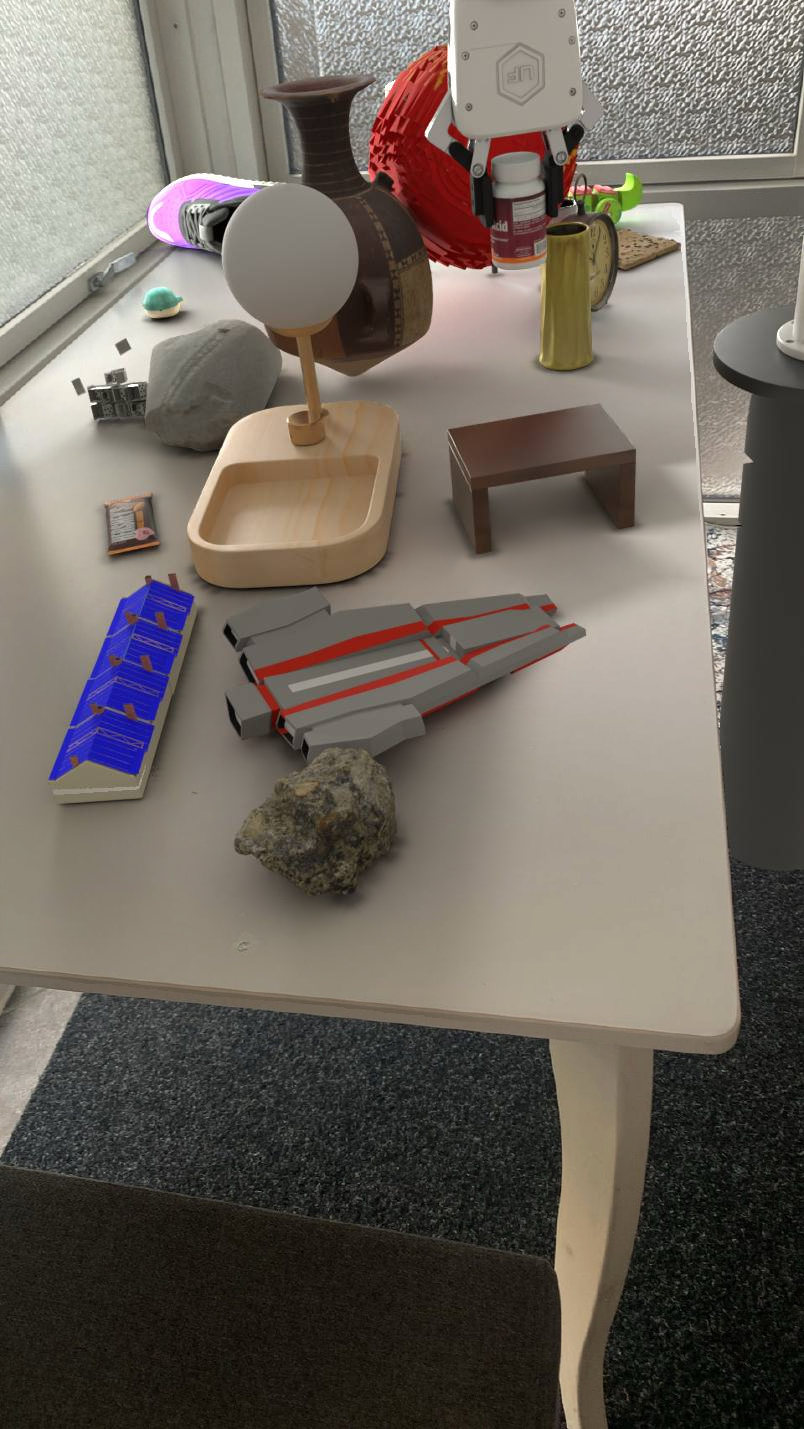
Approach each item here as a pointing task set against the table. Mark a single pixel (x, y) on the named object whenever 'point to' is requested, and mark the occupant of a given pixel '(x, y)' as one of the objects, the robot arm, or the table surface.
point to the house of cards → (116, 393)
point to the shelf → (540, 462)
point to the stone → (209, 383)
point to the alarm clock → (598, 250)
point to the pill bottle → (518, 212)
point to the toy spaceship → (376, 664)
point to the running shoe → (199, 209)
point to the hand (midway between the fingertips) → (518, 216)
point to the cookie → (641, 247)
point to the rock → (324, 822)
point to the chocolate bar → (130, 524)
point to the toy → (439, 165)
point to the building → (127, 695)
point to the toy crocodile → (610, 197)
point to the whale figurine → (161, 303)
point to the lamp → (296, 417)
